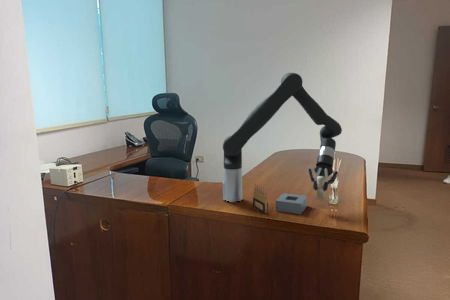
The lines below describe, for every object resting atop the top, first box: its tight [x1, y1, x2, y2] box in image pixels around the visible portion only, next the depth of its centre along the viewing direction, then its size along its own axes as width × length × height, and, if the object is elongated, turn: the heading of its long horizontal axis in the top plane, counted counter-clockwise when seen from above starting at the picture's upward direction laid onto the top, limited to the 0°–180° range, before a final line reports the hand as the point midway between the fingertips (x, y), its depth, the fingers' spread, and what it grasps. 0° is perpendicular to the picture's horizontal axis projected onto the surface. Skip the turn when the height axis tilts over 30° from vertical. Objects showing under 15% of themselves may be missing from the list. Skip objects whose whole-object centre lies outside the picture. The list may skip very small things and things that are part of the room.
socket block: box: [275, 192, 308, 215], centre depth 163 cm, size 12×12×5 cm
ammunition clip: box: [252, 183, 269, 215], centre depth 161 cm, size 11×2×12 cm, turn 26°
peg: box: [315, 176, 326, 200], centre depth 156 cm, size 4×4×10 cm
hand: (319, 189), depth 154 cm, fingers closed on peg, 3 cm apart
